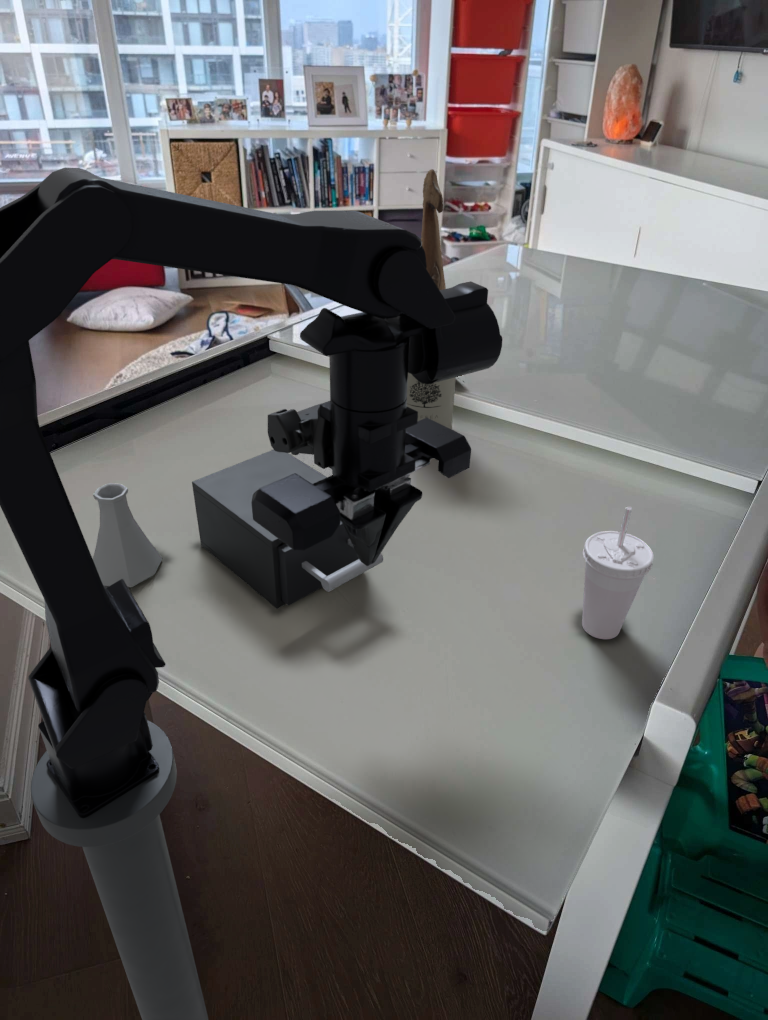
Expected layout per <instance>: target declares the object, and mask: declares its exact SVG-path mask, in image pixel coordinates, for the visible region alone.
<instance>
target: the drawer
mask: <svg viewBox="0 0 768 1020" xmlns="http://www.w3.org/2000/svg"><path fill="white" fill-rule="evenodd" d="M278 559H279V573H280V587H281V600H282V601H283V602H284V603H286V604H285V605H286V606H290V605H292V604H294V603H296V602H298V601H300V600H302V599H304V598H305V597H307V596H309V595H311V594H313V593H314V592H316V591H318V590H320V589H323V590H324V591H326V592H331V591H334V589H337V588H338V587H340V586H342V585H343V584H345V583H347V582H349V581H351V580H352V579H354V578H357V577H358V576H360V575H362V574H363V573H365V572H367V571H369V570H371V569H372V568H374V567H376V566H378V565H380V564H381V563H383V562H384V555H383V554H382V552H381V553H380V555H379V557H378V558H377V560H376V561H375V563H373V564H371V565H369V566H366V565H365V564H363V563H362V562H361V561H360V560H359V558H358V556H357V553H356V551H355V549H354V547H353V545H352V542H351V540H350V538H349V536H348V534H347V531H346V529H345V527H344V525H343V523H342V522H341V520H340V525H339V527H338V529H337V530H336V532H335V533H334V535H333V537H331V538H329V539H327V540H325V541H323V542H321V543H319V544H317V545H315V546H313V547H311V548H309V549H307V550H305V551H304V550H293V549H292V548H290V547H289V546H288V545H286V544H283V545H282V544H280V545H279V547H278Z"/></svg>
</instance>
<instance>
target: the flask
mask: <svg viewBox="0 0 768 1020" xmlns="http://www.w3.org/2000/svg"><path fill="white" fill-rule="evenodd" d="M128 493H129V488H128V487H127V486H125V485H124V484H122V483H115V482H114V483H113V482H108V483H105V484H103V485H101V486H98V487H97V488H96V489H95V491H94V492H93V494H92V497H93V498H94V499H95V500H96V501H97V504H98V510H99V527H98V532H97V538H96V542H95V543H96V544H95V548H94V553H93V556H92V559H93V561H94V564H95V566H96V569H97V571H98V574H99V576H100V579H101V581H102V584H103V585H104V586H105V587H109V586H110V585H112V584H114V583H115V582H117V581H119V580H121V579H123V580H124V581H125V583H126V585H127V586H128V588H133V587H135V586H136V585H138V584H140V583H142V582H144V581H145V580H147V579H149V578H151V577H153V576H154V575H156V573H157V570H158V569H159V566H160V565H161V563H162V560H163V557H162V556H161V554H160V553H159V551H158V550H157V549H156V547H155V546H154V545H153V543H152V542H151V541H150V539H149V538H148V537H147V535H146V534H145V532H144V531H143V530H142V528H141V526H140V524H139V523H138V522H137V521H136V519H135V517H134V515H133V513H132V510H131V509H130V506H129V502H128V499H127V494H128Z"/></svg>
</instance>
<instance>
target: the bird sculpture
mask: <svg viewBox="0 0 768 1020" xmlns="http://www.w3.org/2000/svg"><path fill="white" fill-rule="evenodd" d="M422 199H423V200H422V223H421V237H420V239H421V241H422V246H423V249H424V251H425V255H426V264H427V268H426V269H427V271H428V273H429V274H430V276H431V277H432V279H433V281H434V282H435V284H436V285H437V287H438V289H439V290H443V289H447V288H446V287H447V286H446V279H445V271H444V266H443V265H444V264H443V257H442V256H443V253H442V246H441V235H440V223H439V221H440V220H439V215H438V214H441V213H443V211H444V198H443V194H442V192H441V189H440V186H439V180H438V175H437V173H436V171H435V169H434V168H431V169H429V170H428V171H427V172H426V174H425V177H424V178H423V185H422Z"/></svg>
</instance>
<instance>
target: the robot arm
mask: <svg viewBox="0 0 768 1020" xmlns="http://www.w3.org/2000/svg"><path fill="white" fill-rule="evenodd" d="M111 260H118V261H124V262H132V263H138V264H146V265H152V266H158V267H165V268H172V269H180V270H186V271H193V272H200V273H208V274H215V275H219V276H220V275H221V276H227V277H234V278H242V279H249V280H255V281H263V282H270V283H277V284H282V285H291V286H294V287H297V288H299V289H302V290H306V291H307V292H311V293H312V294H316V295H317V296H321V297H323V298H324V299H328V300H330V301H332V302H335V303H337V304H340V305H342V306H345V307H347V308H350V309H353V310H355V311H358V312H357V313H352V314H346V315H341V316H340V315H339V314H337V313H335V312H333V311H332V310H330V309H328V308H327V307H323V308H321V310H320V312H319V313H318V315H317V317H315V319H313V320H312V321H311V322H309V323H308V324H307V325H306V326H305V327H304V328H303V330H301V331H300V333H299V339H300V340H301V341H302V342H303V343H306V344H307V345H308V346H310V347H311V348H313V349H314V350H316V351H317V352H319V353H320V354H321V355H323V356H326V357H328V359H329V400H328V401H325V402H322V403H317V404H315V405H311V406H309V407H307V408H306V407H305V408H303V409H301V410H299V411H297V410H296V409H295V408H292V409H286V408H282V409H280V410H276V411H275V412H271V413H268V414H267V435H268V439H269V443H270V446H271V448H272V450H275V451H276V452H284V453H289V454H291V455H292V456H298V455H300V454H303V455H313V463H314V465H316V466H317V467H319V468H321V469H323V470H325V469H327V468H329V469H330V470H331V475H329V476H326V477H327V478H325V479H322V480H320V481H318V482H316V483H313V484H312V483H310V482H309V481H307V480H305V479H304V478H302V477H301V476H299V475H298V474H296V473H294V474H292V475H290V476H287V477H285V478H283V479H280V480H278V481H276V482H273V483H271V484H268V485H266V486H264V487H261V488H259V489H258V490H257V491H256V492H255V493H253V496H252V501H251V504H252V514H253V520H254V521H255V522H257V523H258V524H259V525H261V526H262V527H263V528H265V529H266V530H267V531H269V532H270V533H271V534H273V535H274V536H275V537H277V538H278V539H280V540H281V541H282V542H284V543H285V544H286V545H288V546H289V547H290V548H292V549H293V550H304V551H305V550H307V549H309V548H311V547H313V546H315V545H317V544H319V543H321V542H323V541H325V540H327V539H329V538H331V537H333V535H334V533H335V532H336V530H337V529H338V527H339V525H340V520H341V522H342V523H343V525H344V527H345V529H346V531H347V534H348V536H349V538H350V540H351V542H352V545H353V547H354V549H355V551H356V553H357V556H358V558H359V560H360V561H361V562H362V563H363V564H365V565H366V566H369V565H371V564H373V563H375V561H376V560H377V558H378V557H379V555H380V553H381V554H382V552H383V550H384V549H385V547H386V546H387V544H388V543H389V541H390V539H391V538H392V537H393V535H394V533H395V532H396V531H397V529H398V527H399V526H400V525H401V523H402V522H403V520H404V518H406V517H407V515H408V513H409V512H410V511H411V509H413V507H414V505H415V504H416V503H417V502H419V501H420V500H422V497H423V490H421V489H419V488H417V487H416V486H414V485H412V478H411V477H410V474H412V473H414V472H416V471H418V470H421V469H422V468H425V467H427V466H429V465H430V464H431V460H433V459H434V460H435V461H438V463H437V471H438V473H440V474H441V475H442V476H444V477H446V478H447V479H451V478H453V477H455V476H457V475H458V474H460V473H462V472H465V471H467V470H469V469H470V466H471V456H472V447H471V445H470V443H469V441H468V439H467V437H466V436H465V435H464V434H462V433H460V432H458V431H456V430H454V429H453V428H452V429H450V428H448V427H445V426H443V425H441V424H439V423H437V422H435V421H433V420H431V419H429V418H424V419H422V420H420V421H418V411H416V410H414V409H411V408H409V407H407V384H408V373H410V374H412V376H413V377H415V378H416V379H417V380H418V381H419V382H421V383H424V384H432V383H436V382H440V381H443V380H447V379H451V378H455V377H456V378H457V377H458V376H462V375H464V376H466V375H470V374H473V373H476V372H477V373H478V372H481V371H484V370H488V369H490V368H491V367H493V366H494V365H495V364H496V363H497V362H498V360H499V357H500V356H501V352H502V348H503V336H502V335H501V331H500V326H499V321H498V319H497V316H496V314H495V312H494V310H493V308H492V307H491V306H490V305H489V303H488V296H489V289H488V288H487V287H486V286H482V285H481V284H478V283H476V282H473V281H472V280H471V281H470V280H469V281H466V282H461V283H458V284H455V285H454V286H451V287H448V288H446V289H443V290H439V289H438V287H437V285H436V284H435V282H434V281H433V279H432V277H431V276H430V274H429V273H428V271H427V269H426V268H427V264H426V255H425V251H424V249H423V246H422V241H421V237H419V236H418V235H417V234H415V233H414V232H412V231H408V230H406V229H404V228H401V227H400V226H396V225H394V224H392V223H389V222H386V221H384V220H381V219H379V218H377V217H373V216H371V215H368V214H366V213H363V212H361V211H358V210H311V211H304V212H300V213H275V212H269V211H265V210H260V209H255V208H251V207H246V206H242V205H241V206H240V205H235V204H230V203H226V202H222V201H221V202H220V201H217V200H212V199H207V198H201V197H196V196H192V195H187V194H182V193H179V192H172V191H168V190H163V189H158V188H153V187H148V186H145V185H140V184H134V183H129V182H124V181H119V180H114V179H110V178H105V177H101V176H98V175H97V174H94V173H92V172H91V171H89V170H87V169H83V168H81V167H63V168H60V169H57V170H54V171H51V172H50V174H49V175H48V176H46V177H45V178H44V179H43V180H42V181H41V182H40V183H38V184H37V185H35V186H34V187H33V188H31V189H30V190H28V191H27V192H26V193H25V194H24V195H22V196H20V197H18V198H16V199H14V200H12V201H10V202H8V203H7V204H5V205H3V206H1V207H0V509H1V512H2V513H3V515H4V517H5V520H6V522H7V523H8V526H9V528H10V530H11V532H12V534H13V537H14V538H15V540H16V543H17V545H18V547H19V549H20V551H21V553H22V555H23V557H24V559H25V562H26V564H27V566H28V568H29V570H30V573H31V574H32V576H33V579H34V580H35V583H36V585H37V587H38V589H39V591H40V593H41V595H42V597H43V600H44V614H45V618H44V619H45V624H46V628H47V633H48V638H49V642H50V647H49V648H48V650H47V651H46V652H45V653H44V655H43V656H42V657H41V658H40V660H39V662H38V663H37V664H36V665H35V667H34V668H33V670H32V671H31V672H30V674H29V675H28V677H27V679H28V682H29V685H30V687H31V690H32V693H33V696H34V699H35V701H36V704H37V707H38V709H39V712H40V715H41V718H42V721H41V722H40V723H38V729H39V732H40V735H41V738H42V741H43V743H44V746H45V749H46V751H47V753H48V755H49V758H50V759H49V760H48V761H47V764H46V765H47V768H48V770H49V772H50V773H51V775H52V776H53V778H54V779H55V781H56V782H57V784H58V785H59V787H60V788H61V790H62V791H63V793H64V794H65V796H66V797H67V799H68V800H69V802H70V803H71V805H72V806H73V808H74V810H75V811H76V813H77V814H78V816H79V817H80V818H86V817H88V816H90V815H92V814H93V813H95V812H96V811H98V810H100V809H101V808H103V807H104V806H106V805H108V804H109V803H111V802H112V801H114V800H116V799H117V798H119V797H120V796H122V795H124V794H125V793H127V792H128V791H130V790H132V789H133V788H135V787H136V786H138V785H140V784H141V783H143V782H144V781H146V780H148V779H149V778H151V777H152V776H154V775H156V774H157V773H158V772H159V765H158V763H157V762H156V760H155V759H154V758H153V757H152V755H151V754H150V753H149V752H148V751H150V750H152V747H153V744H152V739H151V735H150V731H149V726H148V722H147V720H148V718H147V713H146V712H145V709H146V705H147V702H148V701H149V700H150V698H151V697H152V695H153V693H155V692H157V690H158V689H159V685H160V678H159V672H158V670H157V668H159V669H160V668H164V667H165V666H166V665H167V664H166V662H165V660H164V658H163V656H162V655H161V653H160V652H159V650H158V648H157V646H156V644H155V643H154V638H153V632H152V629H151V624H150V623H149V621H148V619H147V617H146V615H145V613H144V612H143V610H142V609H141V607H140V605H139V604H138V601H137V600H136V598H135V597H134V595H133V593H132V592H131V590H130V587H128V586H127V585H126V583H125V581H124V580H123V579H121V580H119V581H117V582H115V583H114V584H112V585H110V586H104V585H103V584H102V581H101V579H100V576H99V574H98V571H97V569H96V566H95V564H94V561H93V556H92V554H91V551H90V548H89V547H88V544H87V541H86V539H85V536H84V534H83V531H82V529H81V527H80V524H79V522H78V519H77V517H76V514H75V512H74V508H73V507H72V503H71V502H70V499H69V497H68V494H67V492H66V489H65V487H64V484H63V482H62V479H61V477H60V474H59V472H58V469H57V466H56V464H55V462H54V460H53V457H52V455H51V452H50V449H49V447H48V445H47V442H46V440H45V437H44V434H43V431H42V430H41V426H40V421H39V417H38V399H37V394H38V393H37V379H36V374H35V368H34V363H33V357H32V352H31V345H30V340H32V339H33V338H34V337H36V335H38V334H40V333H41V332H42V331H43V330H44V329H45V328H47V327H48V326H49V325H50V324H52V323H53V322H54V321H55V320H56V319H58V317H59V316H61V314H62V313H63V312H64V310H65V309H66V308H67V307H68V305H69V304H70V303H71V302H72V301H73V300H74V299H75V297H76V296H77V295H78V293H79V292H80V291H81V290H82V289H83V287H84V286H85V285H86V284H87V282H88V281H89V280H90V279H91V278H92V276H94V274H95V273H96V272H98V271H99V270H100V269H101V268H103V267H104V266H105V265H106V264H108V263H109V262H111ZM153 767H154V769H152V770H150V769H151V768H153ZM84 809H87V810H86V811H85V812H82V811H83V810H84Z"/></svg>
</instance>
